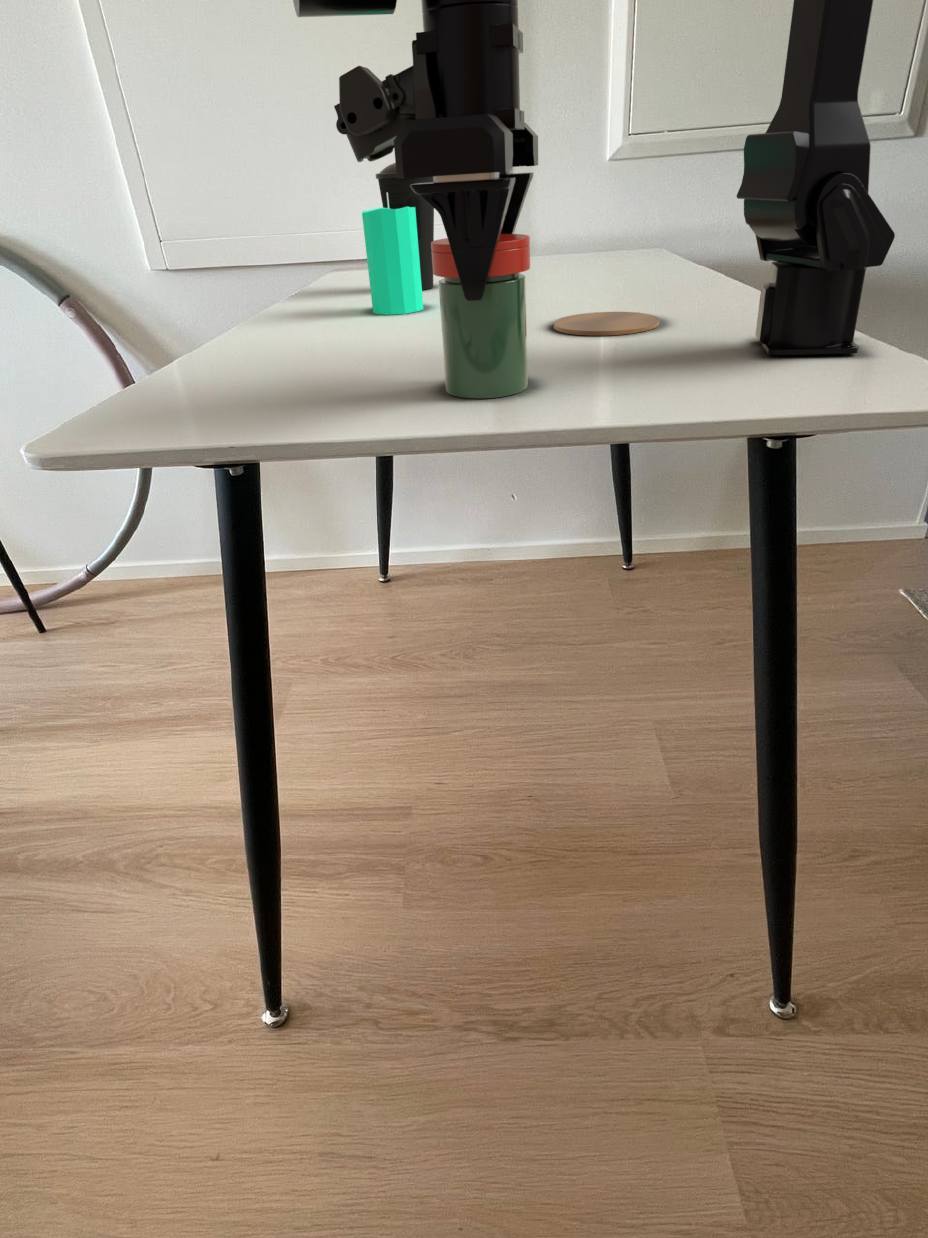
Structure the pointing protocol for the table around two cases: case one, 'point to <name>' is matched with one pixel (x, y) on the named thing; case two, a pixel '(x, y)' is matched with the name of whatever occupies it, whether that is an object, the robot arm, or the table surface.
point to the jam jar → (485, 338)
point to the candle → (393, 260)
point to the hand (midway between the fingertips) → (482, 292)
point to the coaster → (606, 323)
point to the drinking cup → (406, 197)
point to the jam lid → (506, 261)
